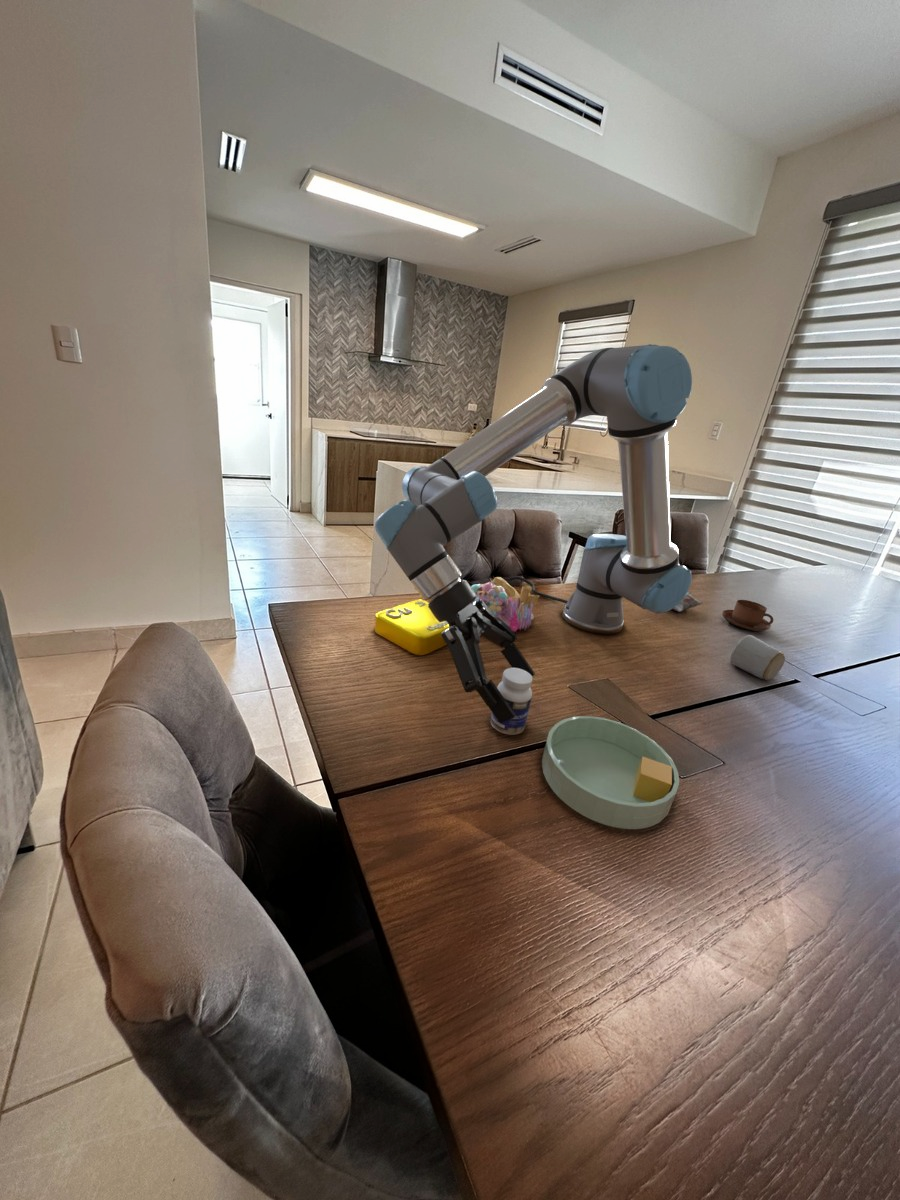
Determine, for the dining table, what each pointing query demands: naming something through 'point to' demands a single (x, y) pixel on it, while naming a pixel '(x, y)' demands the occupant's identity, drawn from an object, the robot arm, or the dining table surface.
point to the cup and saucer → (748, 616)
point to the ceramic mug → (757, 658)
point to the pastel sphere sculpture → (507, 602)
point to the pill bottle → (514, 700)
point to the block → (652, 780)
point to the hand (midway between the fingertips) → (519, 696)
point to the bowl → (604, 771)
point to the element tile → (411, 627)
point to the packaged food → (686, 603)
